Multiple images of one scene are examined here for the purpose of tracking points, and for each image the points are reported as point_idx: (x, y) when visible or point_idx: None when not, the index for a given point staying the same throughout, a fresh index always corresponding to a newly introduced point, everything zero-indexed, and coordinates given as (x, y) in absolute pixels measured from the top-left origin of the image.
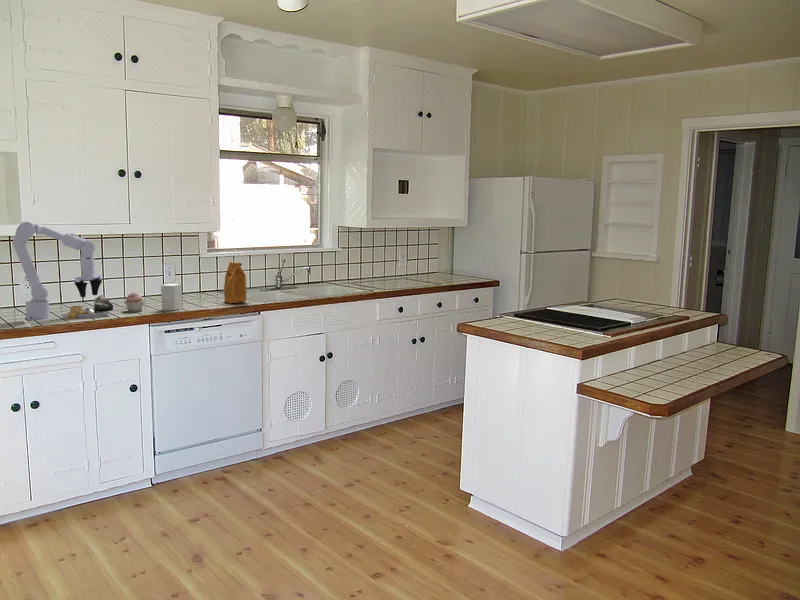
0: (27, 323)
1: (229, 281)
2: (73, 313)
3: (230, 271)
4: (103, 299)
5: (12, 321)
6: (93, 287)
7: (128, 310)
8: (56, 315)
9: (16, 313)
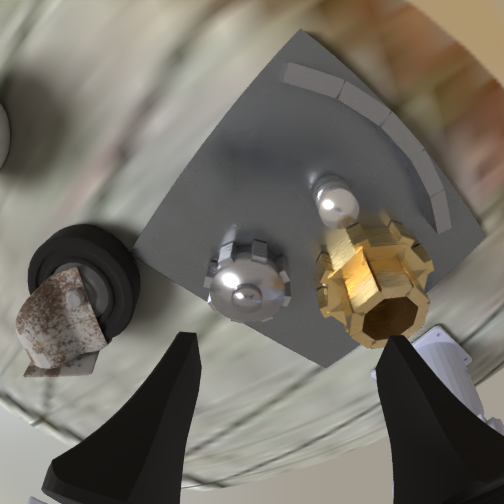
0: (487, 347)
1: None
2: (427, 273)
3: None
4: (46, 336)
5: None
6: (179, 440)
7: (7, 148)
8: (296, 387)
9: (296, 460)
